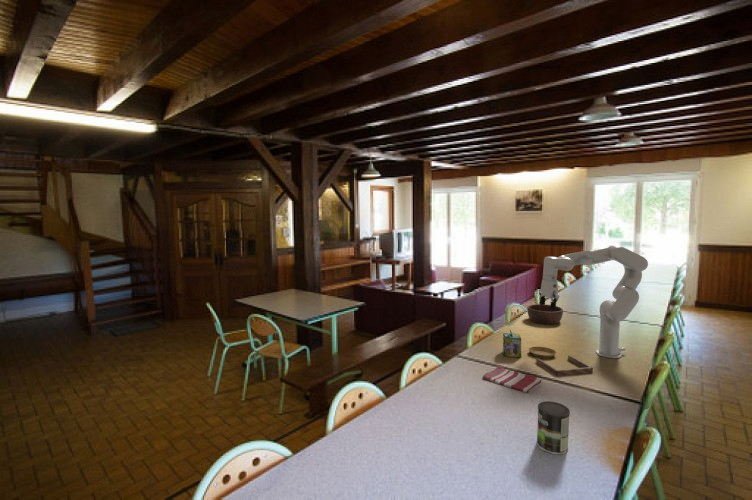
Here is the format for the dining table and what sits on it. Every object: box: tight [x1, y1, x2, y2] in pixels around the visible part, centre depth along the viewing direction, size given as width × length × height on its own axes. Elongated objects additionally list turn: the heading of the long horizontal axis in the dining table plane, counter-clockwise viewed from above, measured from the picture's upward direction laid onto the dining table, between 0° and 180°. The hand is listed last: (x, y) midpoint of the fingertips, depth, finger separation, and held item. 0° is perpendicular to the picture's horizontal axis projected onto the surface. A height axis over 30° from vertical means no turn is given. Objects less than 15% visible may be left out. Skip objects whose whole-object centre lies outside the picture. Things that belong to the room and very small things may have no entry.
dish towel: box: [482, 365, 543, 394], centre depth 191 cm, size 17×23×3 cm
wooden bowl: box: [526, 303, 564, 325], centre depth 292 cm, size 25×25×10 cm
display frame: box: [535, 354, 594, 377], centre depth 206 cm, size 21×18×2 cm
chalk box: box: [502, 329, 522, 358], centre depth 225 cm, size 9×9×15 cm
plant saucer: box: [528, 346, 557, 359], centre depth 224 cm, size 15×15×3 cm
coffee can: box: [536, 400, 571, 455], centre depth 137 cm, size 10×10×14 cm
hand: (547, 306), depth 226 cm, fingers open, 9 cm apart
